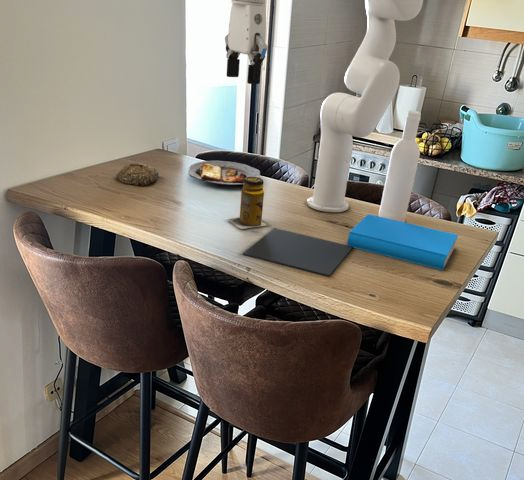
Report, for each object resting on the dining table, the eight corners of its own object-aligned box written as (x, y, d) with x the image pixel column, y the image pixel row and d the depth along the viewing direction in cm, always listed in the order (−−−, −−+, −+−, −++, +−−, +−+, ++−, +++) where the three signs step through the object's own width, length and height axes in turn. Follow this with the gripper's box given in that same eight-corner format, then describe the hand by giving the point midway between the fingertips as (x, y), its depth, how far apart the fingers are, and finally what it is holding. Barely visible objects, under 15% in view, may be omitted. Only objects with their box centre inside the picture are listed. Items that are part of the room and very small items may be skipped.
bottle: (384, 214, 169) (406, 107, 153) (408, 221, 166) (434, 113, 149) (372, 220, 164) (394, 110, 147) (397, 228, 160) (422, 116, 144)
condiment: (267, 225, 153) (271, 181, 147) (241, 229, 149) (244, 184, 142) (253, 216, 158) (256, 173, 151) (227, 220, 154) (229, 176, 147)
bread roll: (163, 177, 182) (163, 161, 179) (148, 187, 172) (147, 171, 169) (126, 171, 184) (125, 156, 181) (109, 181, 173) (108, 165, 171)
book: (367, 213, 156) (458, 233, 148) (364, 228, 158) (454, 248, 150) (348, 232, 143) (447, 254, 135) (346, 248, 145) (443, 271, 137)
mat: (274, 229, 151) (274, 228, 151) (352, 248, 145) (353, 246, 144) (242, 254, 135) (242, 253, 135) (329, 276, 129) (329, 275, 129)
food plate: (258, 193, 176) (259, 182, 174) (184, 186, 175) (184, 175, 173) (260, 171, 197) (260, 161, 195) (193, 165, 196) (193, 155, 194)
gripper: (283, 1, 123) (275, 86, 132) (242, -4, 135) (237, 74, 144) (254, -2, 119) (248, 86, 128) (215, -7, 131) (211, 74, 140)
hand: (242, 80), depth 136 cm, fingers open, 9 cm apart
